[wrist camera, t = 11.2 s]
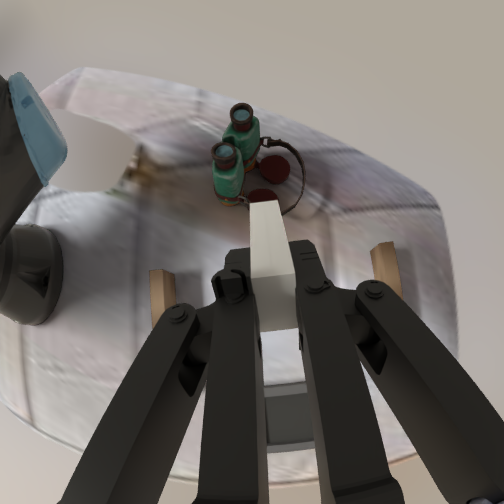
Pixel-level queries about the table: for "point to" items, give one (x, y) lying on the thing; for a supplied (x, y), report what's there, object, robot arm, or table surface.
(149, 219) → the table surface
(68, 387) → the table surface
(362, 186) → the table surface
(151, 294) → the channel
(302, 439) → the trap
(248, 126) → the binoculars
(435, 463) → the robot arm
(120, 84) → the table surface
